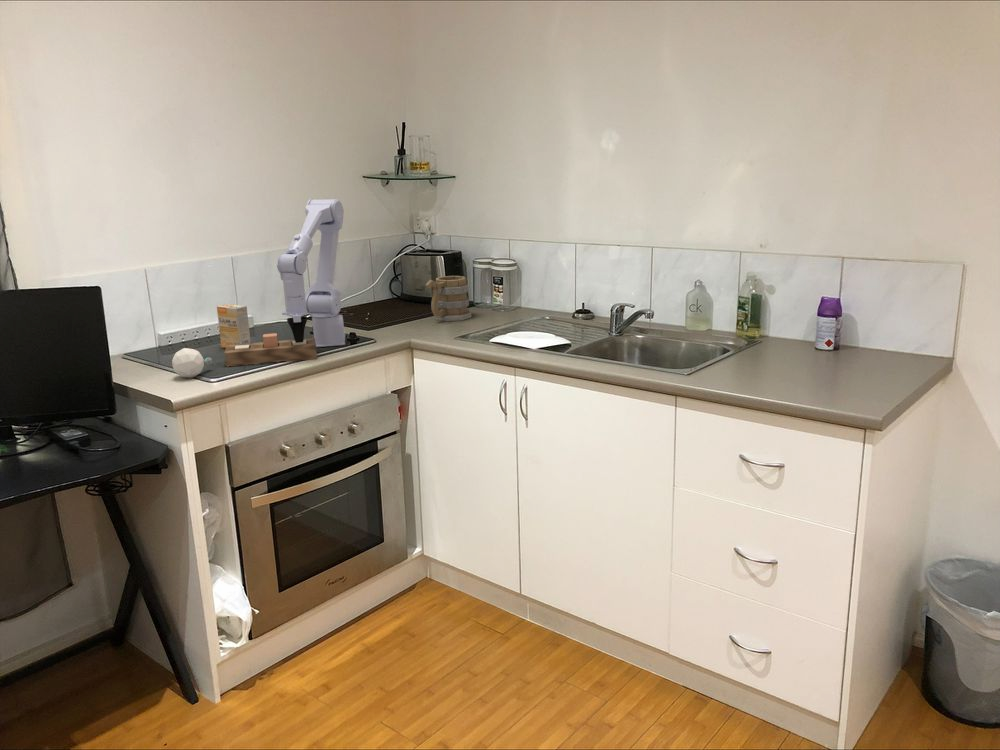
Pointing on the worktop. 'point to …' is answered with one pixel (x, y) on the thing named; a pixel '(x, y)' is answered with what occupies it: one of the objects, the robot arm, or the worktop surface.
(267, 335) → the salmon pink cube
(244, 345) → the cream cap
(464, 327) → the worktop surface
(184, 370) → the faceted white ball
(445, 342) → the worktop surface
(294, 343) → the cream cap
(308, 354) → the brown wooden rack
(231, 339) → the supplement box
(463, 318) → the tankard
